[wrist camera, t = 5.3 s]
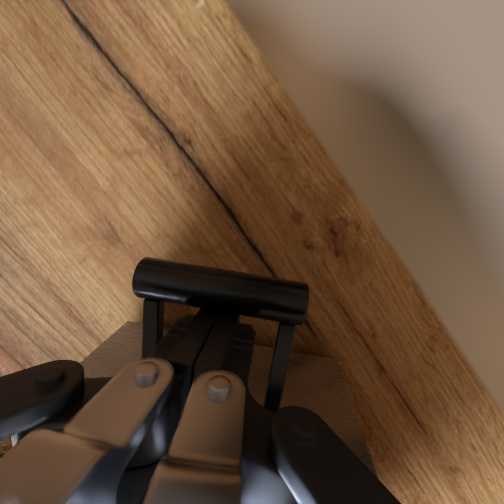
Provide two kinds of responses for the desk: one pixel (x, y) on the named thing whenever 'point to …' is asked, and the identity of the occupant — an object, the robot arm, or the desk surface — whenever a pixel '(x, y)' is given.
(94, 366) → the drawer
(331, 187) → the desk surface
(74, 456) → the robot arm
